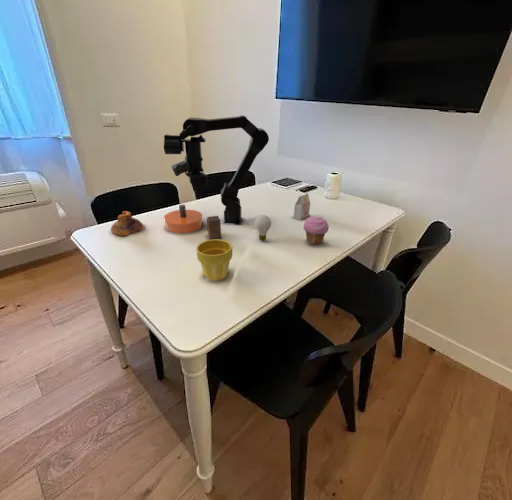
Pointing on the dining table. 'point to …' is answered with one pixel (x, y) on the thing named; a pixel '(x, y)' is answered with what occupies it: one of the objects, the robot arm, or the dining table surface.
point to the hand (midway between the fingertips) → (196, 194)
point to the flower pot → (214, 258)
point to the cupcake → (315, 229)
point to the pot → (184, 227)
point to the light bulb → (262, 226)
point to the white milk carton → (302, 207)
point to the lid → (182, 216)
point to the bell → (126, 225)
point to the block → (213, 227)
